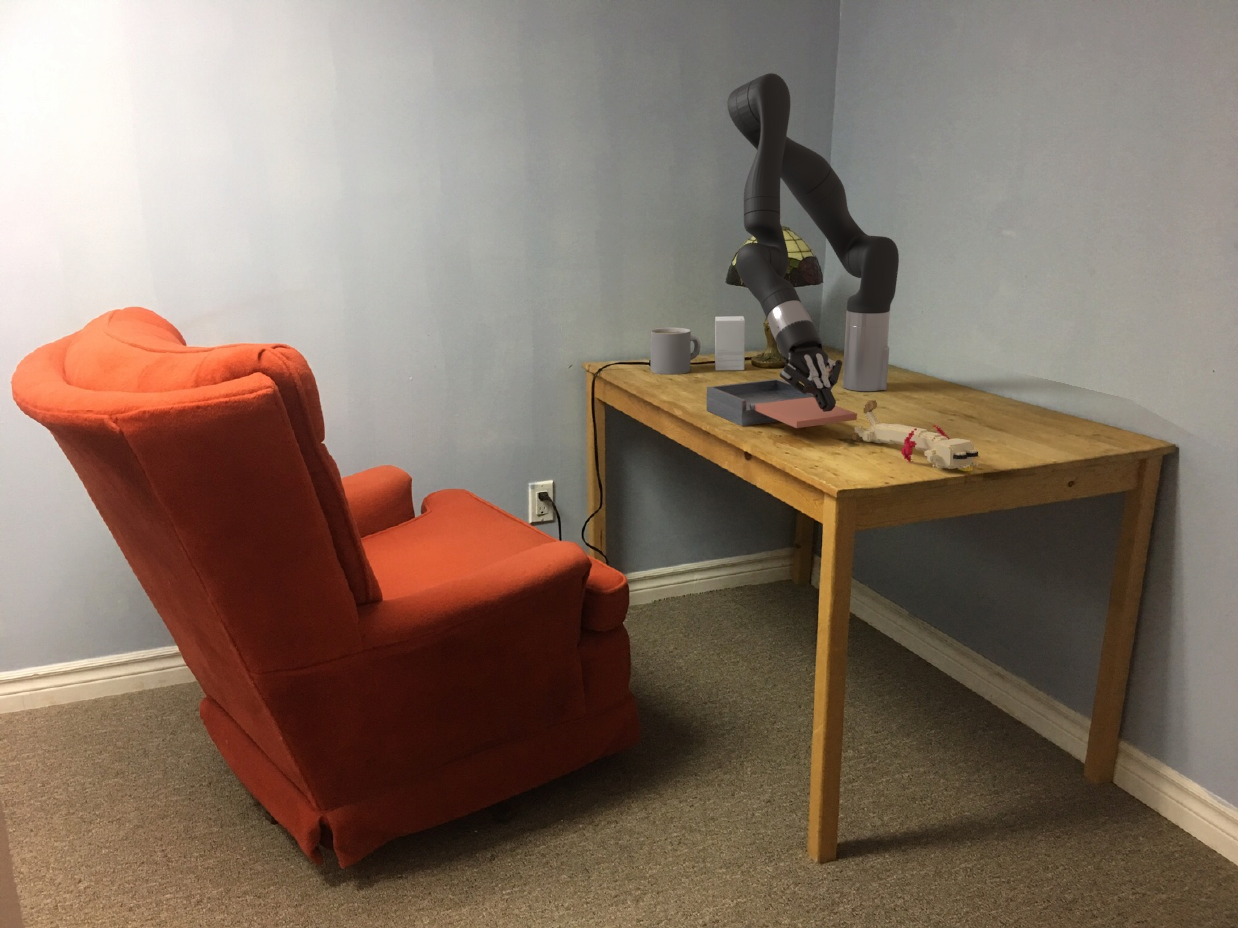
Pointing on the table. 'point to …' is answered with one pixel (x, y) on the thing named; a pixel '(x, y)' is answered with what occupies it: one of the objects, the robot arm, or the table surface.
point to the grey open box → (748, 399)
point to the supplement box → (729, 343)
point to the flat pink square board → (802, 412)
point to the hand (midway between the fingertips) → (829, 409)
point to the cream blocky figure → (919, 442)
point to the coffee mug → (672, 350)
